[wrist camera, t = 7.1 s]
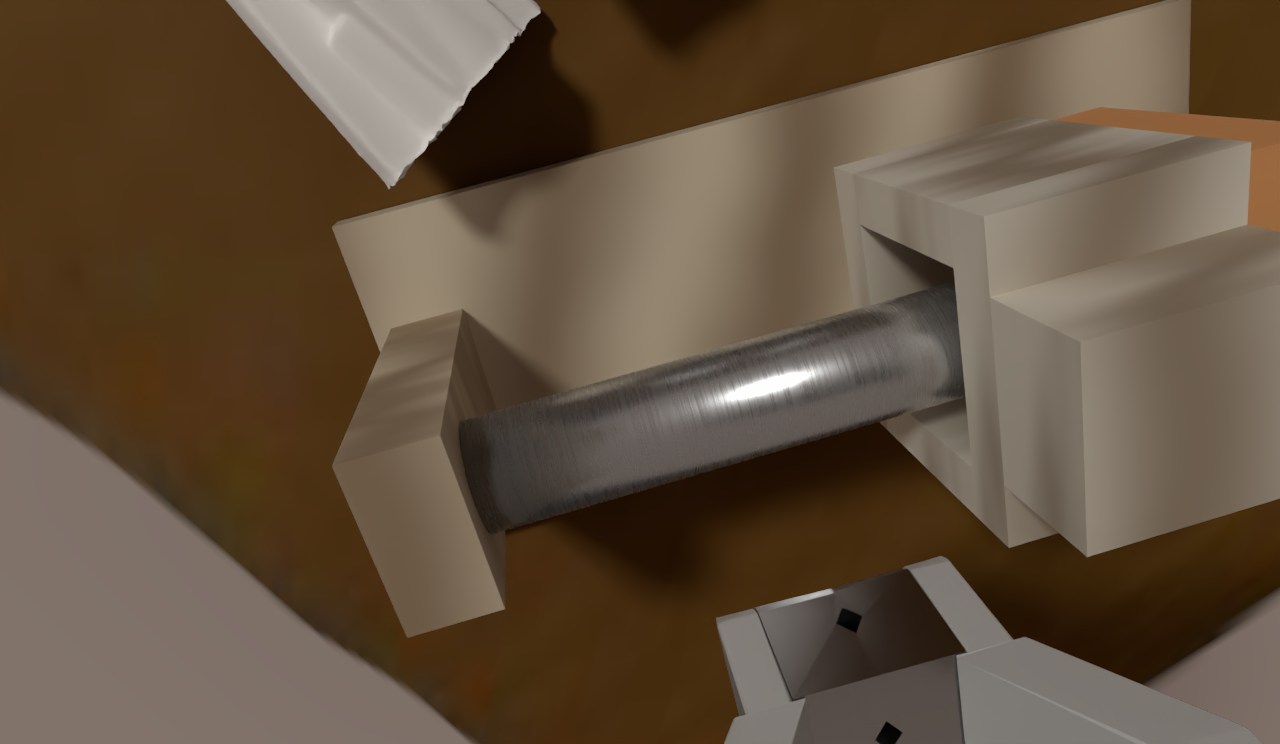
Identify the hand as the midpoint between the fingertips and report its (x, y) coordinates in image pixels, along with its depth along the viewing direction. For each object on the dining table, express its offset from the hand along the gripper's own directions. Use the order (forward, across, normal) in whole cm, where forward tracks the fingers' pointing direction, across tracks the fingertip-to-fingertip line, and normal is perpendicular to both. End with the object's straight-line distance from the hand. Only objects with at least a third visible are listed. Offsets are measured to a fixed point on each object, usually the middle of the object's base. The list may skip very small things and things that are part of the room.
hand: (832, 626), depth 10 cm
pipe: (+9, -4, +1) cm, 10 cm away
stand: (+15, -4, +1) cm, 15 cm away
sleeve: (+12, -7, +1) cm, 14 cm away
